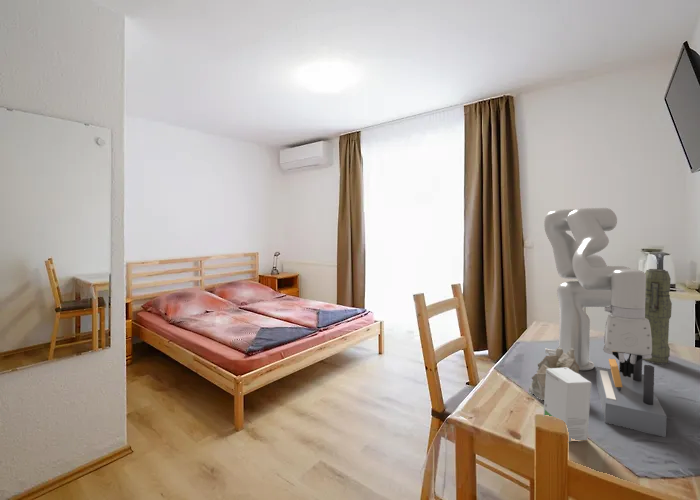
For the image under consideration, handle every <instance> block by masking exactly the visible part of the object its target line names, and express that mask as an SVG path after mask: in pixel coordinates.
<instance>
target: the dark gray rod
mask: <svg viewBox="0 0 700 500" xmlns="http://www.w3.org/2000/svg"><path fill="white" fill-rule="evenodd" d="M643 375H644V390H643V402H644V403H645V404H648V405H653V398H654V394H655V391H654V388H655V366H653V365H650V364H644V365H643Z"/></svg>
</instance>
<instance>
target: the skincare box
mask: <svg viewBox="0 0 700 500" xmlns="http://www.w3.org/2000/svg"><path fill="white" fill-rule="evenodd" d="M591 392H592V382H591V381H590V380H589V379H587V378H585V377H583V376H582V375H581V374H580V373H579V374H578V373H575V372H574V371H572V370H571V369H569V368H567V367H565V368H549V369H546V380H545V398H544V401H543V416H544V415H549V416H553V417H556V418H559V419H561V420H563V421H564V422H565V423H566V425H567V428H568V432H569V441H571V438H572V439H575V440H587V441H588V434H589V433H588V432H589V423H590V422H589V420H590V407H591V394H592V393H591Z"/></svg>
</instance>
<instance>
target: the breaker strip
mask: <svg viewBox="0 0 700 500" xmlns="http://www.w3.org/2000/svg"><path fill="white" fill-rule="evenodd" d="M619 373H620V378H621V382H622V387H621V390H620V391H619V390H618V388H617V387H615V384H614V381H613V377H612V373H611V368H607V367H601V366H600V367H599V366H596V379H595V380H596V388H597V391H598V396H599V401H600V405H601V411H602V415H604V416H603V420H604V423H605V424H608V423H609V425H612V424H614V425H613V426H617V425H618V426H617V427H621V426H623V427H622V428H625V427H627V428H626V429H629V428H630V430H633V429H634V431H638V432H643V433H647V434H651V435H653V436H654V435H655V436H659V437H663V438H666V436H667V418H668V417H667V414H666V412H665V410H664V408H663V407H662V405H661V403H660V400H659V399H658V397H657V395H656V394H655V393H654V398H653V405H648V404H645V403H644V402H643V390H644V373H642V381H641V382H639V381H635V380H633V374H631V377H627V376H626V377H625V376H623V374H622V372H620V370H619Z"/></svg>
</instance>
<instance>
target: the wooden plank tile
mask: <svg viewBox="0 0 700 500" xmlns="http://www.w3.org/2000/svg"><path fill="white" fill-rule="evenodd" d="M608 363H609V367H610V368H609V369H611V373H612V377H613V381H614V384H615V387H617V388H618V390H619V391H620V390H621V387H622V382H621V378H620V373H619V371H620V370H619V366H618V363H617V361H616V359H615V358H608Z"/></svg>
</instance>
